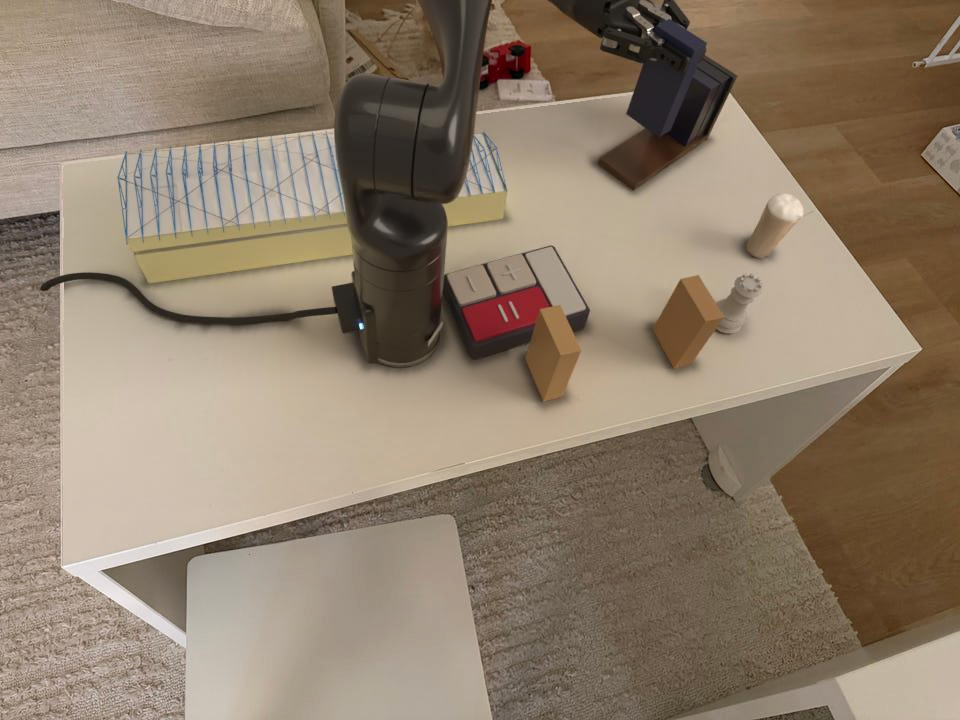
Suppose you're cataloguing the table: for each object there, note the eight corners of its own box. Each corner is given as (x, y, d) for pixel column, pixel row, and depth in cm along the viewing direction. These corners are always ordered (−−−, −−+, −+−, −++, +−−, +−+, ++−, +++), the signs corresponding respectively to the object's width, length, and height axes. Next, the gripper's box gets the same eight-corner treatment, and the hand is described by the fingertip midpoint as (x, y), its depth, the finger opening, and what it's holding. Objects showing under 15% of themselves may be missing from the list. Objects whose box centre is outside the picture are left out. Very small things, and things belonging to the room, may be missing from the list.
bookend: (633, 191, 95) (658, 127, 86) (597, 164, 98) (617, 98, 88) (707, 139, 103) (737, 75, 93) (672, 115, 105) (698, 50, 96)
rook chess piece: (745, 317, 85) (775, 277, 78) (734, 341, 83) (763, 303, 76) (713, 301, 86) (739, 261, 79) (701, 324, 84) (727, 285, 77)
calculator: (440, 270, 79) (554, 239, 83) (440, 292, 83) (549, 261, 86) (473, 344, 74) (592, 308, 78) (471, 363, 78) (586, 328, 81)
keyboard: (148, 287, 79) (116, 226, 70) (146, 197, 86) (116, 132, 77) (509, 235, 88) (520, 176, 80) (479, 158, 96) (487, 97, 87)
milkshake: (765, 271, 89) (802, 219, 81) (734, 246, 91) (768, 193, 83) (784, 256, 91) (823, 204, 83) (754, 232, 93) (789, 178, 85)
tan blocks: (543, 402, 76) (560, 355, 67) (525, 358, 78) (539, 308, 70) (691, 364, 80) (724, 316, 72) (669, 325, 83) (698, 274, 75)
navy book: (659, 138, 90) (694, 50, 79) (625, 114, 92) (656, 25, 81) (670, 130, 91) (707, 42, 80) (637, 106, 93) (669, 18, 82)
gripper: (561, -19, 81) (670, 53, 75) (633, -52, 87) (740, 13, 81) (549, 38, 87) (650, 109, 82) (617, 4, 93) (715, 68, 87)
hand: (694, 60), depth 81 cm, fingers closed on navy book, 2 cm apart
